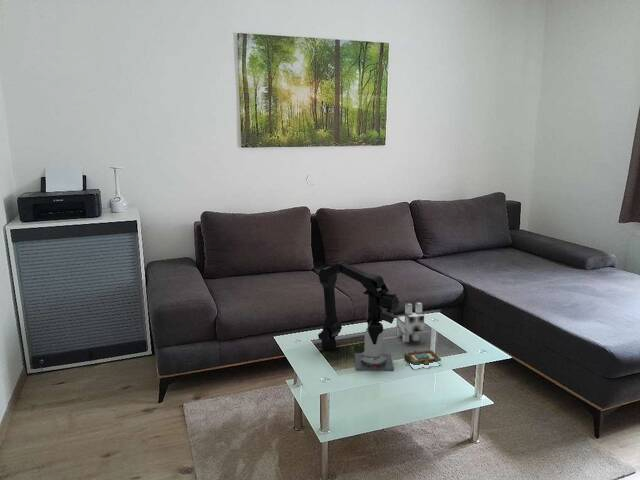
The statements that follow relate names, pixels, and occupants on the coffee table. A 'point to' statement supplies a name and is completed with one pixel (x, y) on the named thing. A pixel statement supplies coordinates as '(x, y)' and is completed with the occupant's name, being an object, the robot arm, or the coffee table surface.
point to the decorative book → (421, 357)
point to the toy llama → (410, 323)
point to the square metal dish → (373, 362)
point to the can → (373, 346)
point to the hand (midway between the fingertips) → (373, 340)
